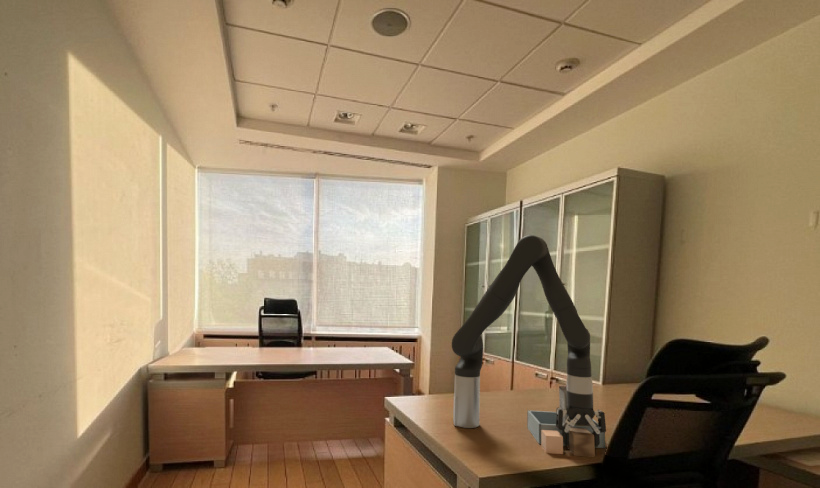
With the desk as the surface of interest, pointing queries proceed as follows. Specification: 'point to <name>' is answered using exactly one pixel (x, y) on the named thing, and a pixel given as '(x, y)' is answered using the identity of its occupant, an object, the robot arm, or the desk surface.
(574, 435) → the block
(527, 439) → the desk surface
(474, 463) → the desk surface
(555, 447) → the cube
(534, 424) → the tote
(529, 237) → the robot arm
